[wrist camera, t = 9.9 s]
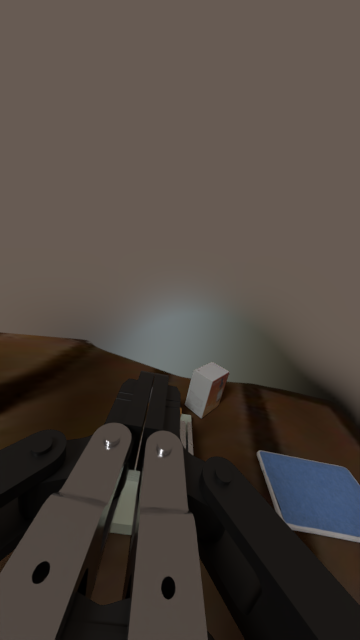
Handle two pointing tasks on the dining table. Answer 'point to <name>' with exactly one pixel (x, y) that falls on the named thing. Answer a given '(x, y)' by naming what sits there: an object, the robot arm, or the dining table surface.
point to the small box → (206, 388)
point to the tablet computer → (313, 495)
